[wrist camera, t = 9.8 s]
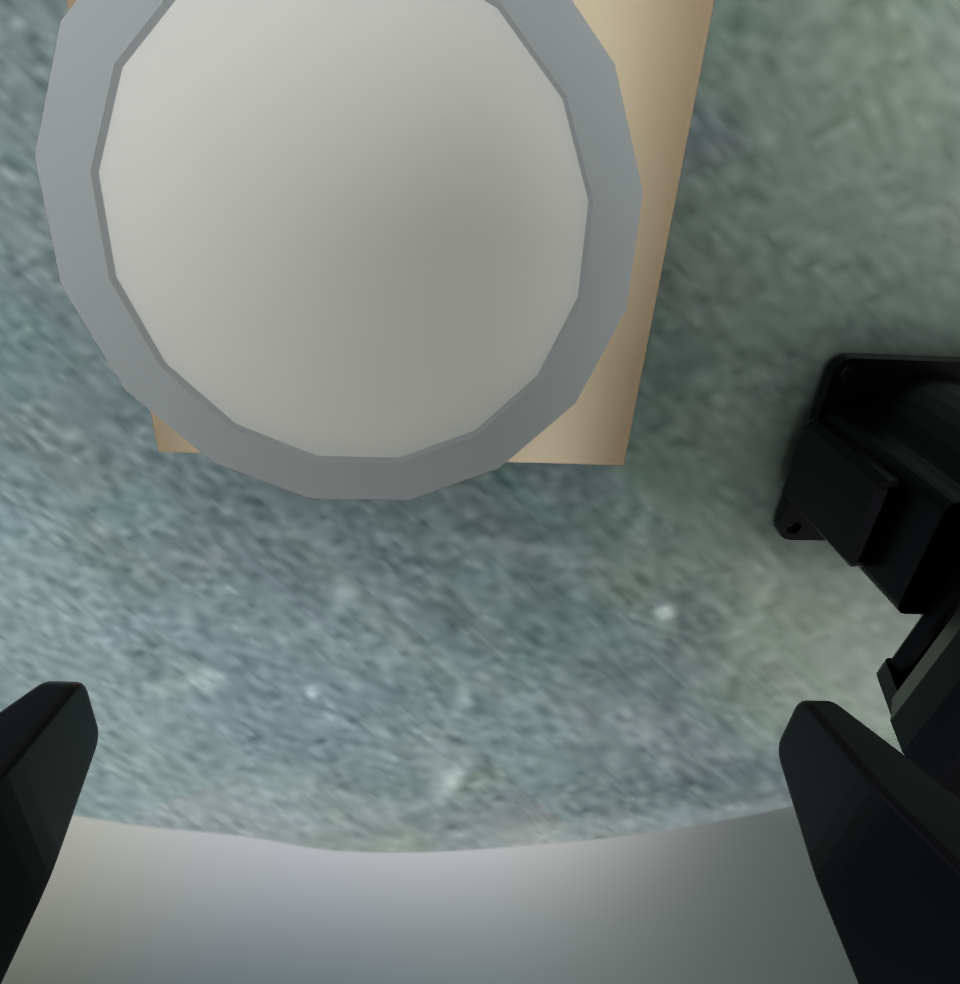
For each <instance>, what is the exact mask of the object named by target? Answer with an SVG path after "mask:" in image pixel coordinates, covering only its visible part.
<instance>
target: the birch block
mask: <svg viewBox="0 0 960 984" xmlns="http://www.w3.org/2000/svg"><path fill="white" fill-rule="evenodd" d="M572 1H573V2H574V4H575V5H576V7H577V8H578V10H579V11H580V13H581V14H582V16H583V17H584V19H585V20H586V22H587V23H588V25H589V26H590V28H591V29H592V31H593V32H594V34H595V35H596V37H597V38H598V40H599V41H600V43H601V44H602V46H603V47H604V49H605V50H606V52H607V53H608V55H609V56H610V58H611V59H612V61H613V62H614V64H615V67H616V72H617V76H618V81H619V85H620V90H621V94H622V99H623V103H624V108H625V112H626V117H627V121H628V126H629V130H630V135H631V139H632V144H633V148H634V153H635V158H636V162H637V167H638V171H639V176H640V180H641V185H642V189H643V197H642V204H641V211H640V218H639V225H638V232H637V239H636V246H635V253H634V260H633V267H632V274H631V281H630V288H629V296H628V303H627V310H626V311H625V313H624V315H623V317H622V319H621V321H620V322H619V324H618V326H617V328H616V330H615V332H614V333H613V335H612V337H611V339H610V341H609V343H608V344H607V346H606V348H605V350H604V352H603V353H602V355H601V357H600V359H599V361H598V363H597V364H596V366H595V368H594V370H593V372H592V374H591V375H590V377H589V379H588V381H587V383H586V385H585V386H584V388H583V390H582V392H581V394H580V396H579V397H578V399H577V401H576V403H575V404H574V405H573V406H572V407H571V408H569V409H568V410H567V411H566V412H565V413H563V414H562V415H561V416H560V417H559V418H558V419H556V420H555V421H554V422H553V423H552V424H551V425H549V426H548V427H547V428H546V429H545V430H544V431H542V432H541V433H540V434H539V435H538V436H536V437H535V438H534V439H533V440H532V441H531V442H529V443H528V444H527V445H526V446H525V447H524V448H522V449H521V450H520V451H519V452H518V453H517V454H515V455H514V456H513V457H512V458H511V459H510V460H508V461H507V462H528V463H562V464H596V465H624V462H625V457H626V452H627V447H628V441H629V436H630V431H631V426H632V421H633V416H634V411H635V406H636V400H637V395H638V390H639V385H640V380H641V375H642V370H643V364H644V359H645V354H646V349H647V344H648V339H649V334H650V329H651V323H652V318H653V313H654V308H655V303H656V298H657V293H658V287H659V282H660V277H661V272H662V267H663V262H664V257H665V252H666V246H667V241H668V236H669V231H670V226H671V221H672V216H673V210H674V205H675V200H676V195H677V190H678V185H679V180H680V175H681V169H682V164H683V159H684V154H685V149H686V144H687V139H688V133H689V128H690V123H691V118H692V113H693V108H694V103H695V98H696V92H697V87H698V82H699V77H700V72H701V67H702V62H703V56H704V51H705V46H706V41H707V36H708V31H709V26H710V20H711V15H712V10H713V5H714V0H572ZM75 2H76V0H67V4H68V9H69V10H70V8H71V7H72V6H73V4H74V3H75ZM150 412H151V411H150ZM151 417H152V422H153V426H154V431H155V436H156V441H157V446H158V451H159V452H185V453H201V452H200V451H198V450H197V449H196V448H195V447H194V446H192V445H191V444H190V443H189V442H188V441H186V440H185V439H184V438H183V437H182V436H180V435H179V434H178V433H177V432H175V431H174V430H173V429H172V428H171V427H169V426H168V425H167V424H166V423H165V422H163V421H162V420H161V419H160V418H159V417H157V416H156V415H155V414H154V413H153V412H151Z"/></svg>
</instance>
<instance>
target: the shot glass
mask: <svg viewBox="0 0 960 984" xmlns="http://www.w3.org/2000/svg"><path fill="white" fill-rule="evenodd" d="M35 159H36V164H37V169H38V174H39V179H40V184H41V189H42V194H43V199H44V204H45V208H46V213H47V218H48V223H49V228H50V233H51V238H52V243H53V248H54V253H55V257H56V262H57V267H58V272H59V277H60V282H61V286H62V287H63V289H64V291H65V292H66V294H67V296H68V297H69V299H70V300H71V302H72V304H73V305H74V307H75V309H76V310H77V312H78V314H79V315H80V317H81V318H82V320H83V322H84V323H85V325H86V327H87V328H88V330H89V332H90V333H91V335H92V336H93V338H94V340H95V341H96V343H97V345H98V346H99V348H100V349H101V351H102V353H103V354H104V356H105V358H106V359H107V361H108V363H109V364H110V366H111V367H112V369H113V371H114V372H115V374H116V376H117V377H118V379H119V381H120V382H121V384H122V385H123V387H124V389H125V390H126V391H127V392H128V393H130V394H131V395H132V396H133V397H134V398H136V399H137V400H138V401H139V402H140V403H142V404H143V405H144V406H145V407H146V408H148V409H149V410H150V411H151V412H153V413H154V414H155V415H156V416H157V417H159V418H160V419H161V420H162V421H163V422H165V423H166V424H167V425H168V426H169V427H171V428H172V429H173V430H174V431H175V432H177V433H178V434H179V435H180V436H182V437H183V438H184V439H185V440H186V441H188V442H189V443H190V444H191V445H192V446H194V447H195V448H196V449H197V450H198V451H200V452H201V453H202V454H203V455H205V456H206V457H207V458H208V459H209V460H211V461H212V462H214V463H216V464H219V465H222V466H224V467H227V468H230V469H232V470H235V471H238V472H240V473H243V474H246V475H248V476H251V477H254V478H256V479H259V480H262V481H264V482H267V483H270V484H272V485H275V486H277V487H280V488H283V489H285V490H288V491H291V492H293V493H296V494H299V495H301V496H304V497H307V498H309V499H357V500H411V499H414V498H416V497H419V496H422V495H425V494H428V493H431V492H433V491H436V490H439V489H442V488H445V487H448V486H450V485H453V484H456V483H459V482H462V481H464V480H467V479H470V478H473V477H476V476H479V475H481V474H484V473H487V472H490V471H493V470H496V469H498V468H500V467H501V466H502V465H504V464H505V463H506V462H507V461H508V460H510V459H511V458H512V457H513V456H514V455H515V454H517V453H518V452H519V451H520V450H521V449H522V448H524V447H525V446H526V445H527V444H528V443H529V442H531V441H532V440H533V439H534V438H535V437H536V436H538V435H539V434H540V433H541V432H542V431H544V430H545V429H546V428H547V427H548V426H549V425H551V424H552V423H553V422H554V421H555V420H556V419H558V418H559V417H560V416H561V415H562V414H563V413H565V412H566V411H567V410H568V409H569V408H571V407H572V406H573V405H574V404H575V403H576V401H577V399H578V397H579V396H580V394H581V392H582V390H583V388H584V386H585V385H586V383H587V381H588V379H589V377H590V375H591V374H592V372H593V370H594V368H595V366H596V364H597V363H598V361H599V359H600V357H601V355H602V353H603V352H604V350H605V348H606V346H607V344H608V343H609V341H610V339H611V337H612V335H613V333H614V332H615V330H616V328H617V326H618V324H619V322H620V321H621V319H622V317H623V315H624V313H625V311H626V310H627V303H628V296H629V288H630V281H631V274H632V267H633V260H634V253H635V246H636V239H637V232H638V225H639V218H640V211H641V204H642V197H643V189H642V185H641V180H640V176H639V171H638V167H637V162H636V158H635V153H634V148H633V144H632V139H631V135H630V130H629V126H628V121H627V117H626V112H625V108H624V103H623V99H622V94H621V90H620V85H619V81H618V76H617V72H616V67H615V64H614V62H613V61H612V59H611V58H610V56H609V55H608V53H607V52H606V50H605V49H604V47H603V46H602V44H601V43H600V41H599V40H598V38H597V37H596V35H595V34H594V32H593V31H592V29H591V28H590V26H589V25H588V23H587V22H586V20H585V19H584V17H583V16H582V14H581V13H580V11H579V10H578V8H577V7H576V5H575V4H574V2H573V1H572V0H76V2H75V3H74V4H73V6H72V7H71V8H70V10H69V11H68V12H67V14H66V15H65V16H64V18H63V19H62V20H61V22H60V27H59V32H58V37H57V43H56V48H55V53H54V58H53V64H52V69H51V74H50V79H49V85H48V90H47V95H46V100H45V106H44V111H43V116H42V121H41V127H40V132H39V137H38V142H37V148H36V153H35Z"/></svg>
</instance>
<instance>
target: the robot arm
mask: <svg viewBox="0 0 960 984" xmlns="http://www.w3.org/2000/svg"><path fill="white" fill-rule="evenodd" d="M849 366H850V371H849V372H848V374H847V375H845V376H844V377H840V376H841V373H842V371H843V370H844V369H845V368H847V367H849ZM783 491H784V495H783V498H782V501H781V504H780V507H779V510H778V513H777V516H776V519H775V524H774V526H775V528H776V530H777V532H778V533H779V534H780V535H781V536H782V537H783V538H784V539H789V540H826V541H827V542H828V543H829V544H830V545H831V546H832V547H833V548H834V550H835V551H836V552H837V553H838V554H839V555H840V556H841V557H842V558H843V560H844V561H845V562H846V563H847V564H848V565H850V566H851V567H859V568H860V569H861V570H862V571H863V572H864V573H865V574H866V576H867V577H868V578H869V579H870V580H871V581H872V582H873V583H874V584H875V585H876V586H877V588H878V589H879V590H880V591H881V592H882V593H883V594H884V595H885V596H886V597H887V598H888V600H889V601H890V602H891V603H892V604H893V605H894V606H895V607H896V608H897V609H898V610H899V612H900V613H904V614H921V615H922V616H921V618H920V619H919V621H918V622H917V624H916V625H915V626H914V628H913V629H912V631H911V632H910V633H909V635H908V636H907V638H906V639H905V640H904V642H903V643H902V645H901V646H900V647H899V649H898V650H897V652H896V653H895V655H894V656H893V657H892V658H887V659H886V660H885V662H884V663H883V664H882V666H881V667H880V669H879V670H878V672H877V677H878V680H879V683H880V686H881V689H882V691H883V694H884V697H885V700H886V703H887V705H888V708H889V711H890V714H891V720H890V721H891V724H892V726H893V729H894V731H895V734H896V736H897V739H898V742H899V744H900V747H901V749H902V752H903V754H904V755H905V756H904V755H903V754H902V753H900V752H899V751H898V750H896V749H895V748H894V747H892V746H891V745H890V744H888V743H887V742H886V741H885V740H883V739H882V738H881V737H879V736H878V735H877V734H875V733H874V732H873V731H871V730H870V729H869V728H867V727H866V726H865V725H864V724H862V723H861V722H860V721H858V720H857V719H856V718H854V717H853V716H852V715H850V714H849V713H848V712H847V711H845V710H844V709H843V708H841V707H840V706H838V705H837V704H835V703H833V702H830V701H807V700H806V701H802V702H800V703H799V704H798V705H797V706H796V708H795V710H794V712H793V714H792V716H791V718H790V720H789V722H788V725H787V727H786V729H785V731H784V733H783V735H782V737H781V740H780V743H779V758H780V762H781V765H782V769H783V772H784V775H785V779H786V782H787V785H788V789H789V792H790V795H791V799H792V802H793V805H794V808H795V812H796V815H797V819H798V822H799V825H800V828H801V832H802V835H803V839H804V842H805V845H806V849H807V852H808V855H809V859H810V862H811V865H812V867H813V871H814V874H815V877H816V879H817V882H818V884H819V887H820V890H821V892H822V895H823V898H824V900H825V903H826V905H827V908H828V910H829V912H830V915H831V917H832V920H833V922H834V925H835V927H836V930H837V932H838V935H839V937H840V939H841V942H842V944H843V947H844V949H845V952H846V954H847V957H848V959H849V961H850V964H851V967H852V969H853V972H854V974H855V976H856V979H857V981H858V984H960V358H946V357H920V356H894V355H868V354H842V355H839V356H837V357H836V358H834V359H833V360H832V361H831V362H830V363H829V365H828V367H827V368H826V371H825V374H824V377H823V380H822V383H821V386H820V389H819V392H818V395H817V398H816V401H815V404H814V407H813V410H812V412H811V415H810V418H809V421H808V422H807V423H806V425H805V426H804V429H803V432H802V435H801V438H800V441H799V444H798V446H797V449H796V452H795V455H794V458H793V461H792V464H791V467H790V470H789V473H788V476H787V479H786V482H785V485H784V488H783ZM795 521H796V522H795ZM792 522H795V523H794V525H792V526H791V527H787V526H788V525H789V524H790V523H792ZM97 741H98V727H97V723H96V720H95V716H94V713H93V709H92V706H91V702H90V699H89V696H88V692H87V690H86V687H85V686H84V685H83V684H82V683H79V682H62V681H49V682H45V683H42V684H40V685H39V686H37V687H35V688H34V689H33V690H31V691H30V692H28V693H27V694H25V695H24V696H23V697H21V698H20V699H18V700H17V701H15V702H14V703H13V704H11V705H10V706H8V707H7V708H5V709H4V710H3V711H1V712H0V984H1V983H2V981H3V978H4V976H5V974H6V972H7V970H8V968H9V965H10V963H11V961H12V959H13V957H14V955H15V953H16V951H17V948H18V946H19V944H20V942H21V940H22V938H23V935H24V933H25V931H26V929H27V927H28V925H29V923H30V921H31V918H32V916H33V914H34V912H35V910H36V908H37V906H38V904H39V901H40V899H41V897H42V895H43V892H44V890H45V888H46V885H47V883H48V881H49V879H50V876H51V873H52V871H53V868H54V866H55V863H56V860H57V858H58V855H59V852H60V849H61V846H62V844H63V841H64V838H65V835H66V832H67V829H68V827H69V824H70V821H71V818H72V815H73V812H74V809H75V807H76V804H77V801H78V798H79V795H80V792H81V789H82V786H83V784H84V781H85V778H86V775H87V772H88V769H89V766H90V764H91V761H92V758H93V755H94V752H95V749H96V746H97Z"/></svg>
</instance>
